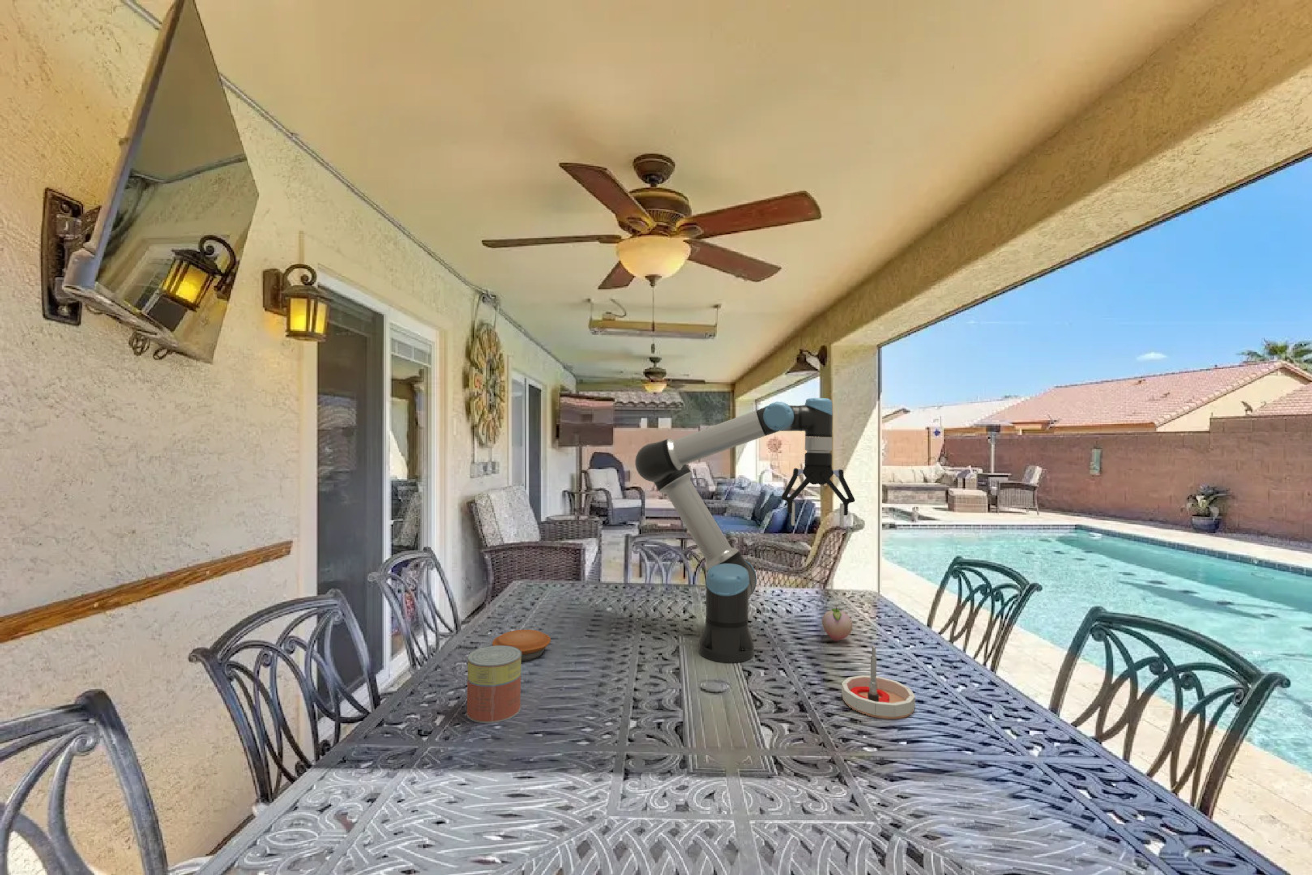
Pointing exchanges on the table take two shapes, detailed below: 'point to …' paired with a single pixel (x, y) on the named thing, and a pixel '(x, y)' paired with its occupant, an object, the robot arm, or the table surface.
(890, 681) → the round tray
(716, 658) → the robot arm
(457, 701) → the table surface
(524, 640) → the pie
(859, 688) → the tow hook
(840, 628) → the decorative fruit
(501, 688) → the canned food
